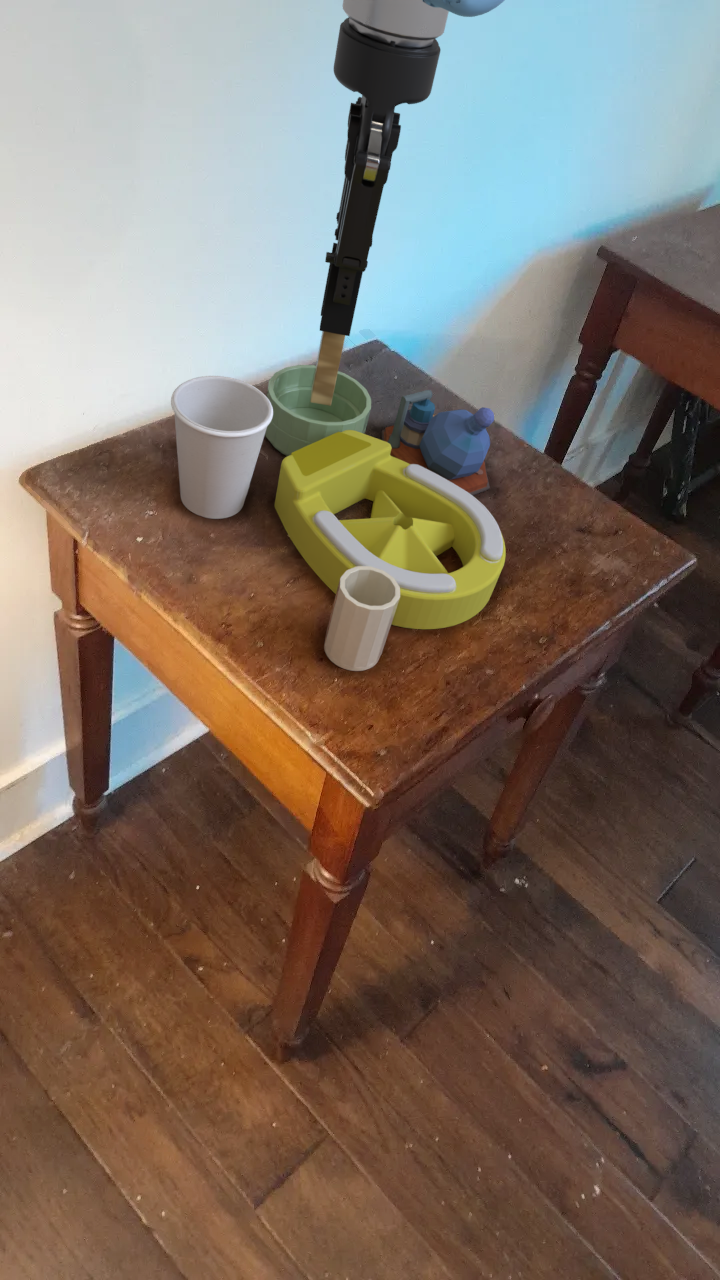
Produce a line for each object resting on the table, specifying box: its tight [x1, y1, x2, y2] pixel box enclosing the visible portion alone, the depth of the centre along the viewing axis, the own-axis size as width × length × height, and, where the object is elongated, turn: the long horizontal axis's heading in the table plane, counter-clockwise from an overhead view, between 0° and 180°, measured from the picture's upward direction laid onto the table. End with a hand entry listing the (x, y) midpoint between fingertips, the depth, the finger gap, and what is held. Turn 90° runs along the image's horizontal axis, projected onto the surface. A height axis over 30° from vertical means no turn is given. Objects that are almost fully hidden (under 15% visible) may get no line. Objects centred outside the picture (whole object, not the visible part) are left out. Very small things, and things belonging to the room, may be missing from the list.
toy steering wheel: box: [274, 430, 507, 630], centre depth 83 cm, size 16×21×5 cm
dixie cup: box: [170, 375, 273, 520], centre depth 81 cm, size 8×8×10 cm
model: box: [380, 389, 495, 496], centre depth 92 cm, size 12×9×9 cm
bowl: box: [264, 364, 372, 457], centre depth 92 cm, size 10×10×5 cm
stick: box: [311, 331, 346, 406], centre depth 85 cm, size 2×2×16 cm
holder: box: [323, 566, 400, 672], centre depth 73 cm, size 5×5×7 cm
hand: (335, 323), depth 85 cm, fingers closed on stick, 2 cm apart
